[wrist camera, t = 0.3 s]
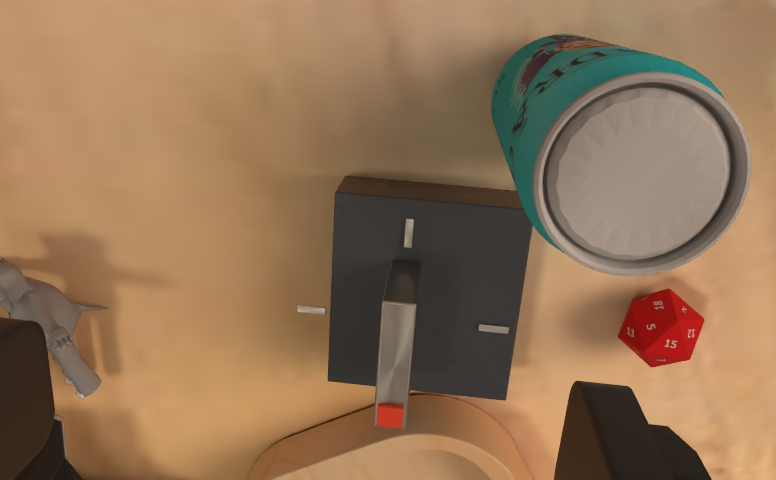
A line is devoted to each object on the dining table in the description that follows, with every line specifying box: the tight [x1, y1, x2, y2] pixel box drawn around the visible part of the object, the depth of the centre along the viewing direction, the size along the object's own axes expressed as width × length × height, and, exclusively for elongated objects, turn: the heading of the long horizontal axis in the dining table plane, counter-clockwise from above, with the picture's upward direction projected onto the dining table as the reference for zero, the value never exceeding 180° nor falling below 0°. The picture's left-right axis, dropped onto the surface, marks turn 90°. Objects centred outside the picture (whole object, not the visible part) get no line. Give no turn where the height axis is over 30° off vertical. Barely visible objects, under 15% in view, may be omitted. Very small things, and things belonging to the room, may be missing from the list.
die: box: [618, 289, 704, 367], centre depth 31 cm, size 4×4×4 cm
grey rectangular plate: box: [373, 260, 421, 429], centre depth 29 cm, size 6×1×5 cm, turn 176°
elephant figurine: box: [0, 258, 108, 399], centre depth 34 cm, size 10×6×9 cm
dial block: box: [297, 176, 533, 400], centre depth 32 cm, size 11×11×3 cm
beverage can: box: [492, 34, 751, 276], centre depth 23 cm, size 6×6×15 cm
